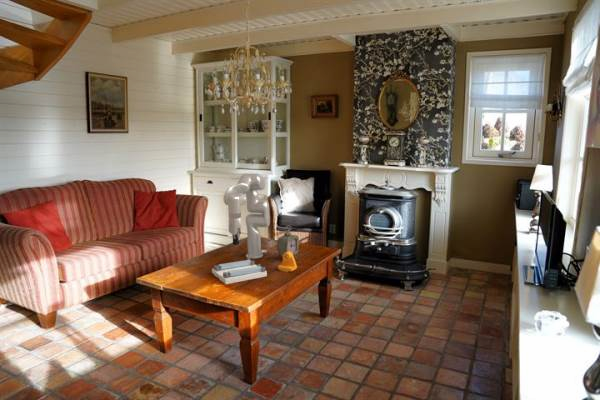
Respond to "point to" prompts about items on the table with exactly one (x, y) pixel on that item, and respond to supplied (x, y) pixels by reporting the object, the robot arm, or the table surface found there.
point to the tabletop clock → (288, 243)
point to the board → (228, 279)
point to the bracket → (288, 262)
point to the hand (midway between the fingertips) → (235, 244)
